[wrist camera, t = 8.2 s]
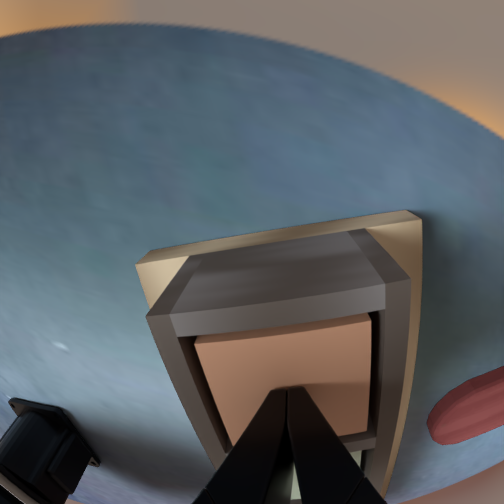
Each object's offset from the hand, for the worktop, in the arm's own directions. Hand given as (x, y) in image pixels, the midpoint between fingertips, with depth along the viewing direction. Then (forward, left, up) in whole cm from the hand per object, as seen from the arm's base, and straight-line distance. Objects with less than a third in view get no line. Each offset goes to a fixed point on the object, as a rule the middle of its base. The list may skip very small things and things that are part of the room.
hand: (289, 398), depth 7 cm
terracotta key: (0, 0, -3) cm, 3 cm away
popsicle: (+15, -10, -6) cm, 19 cm away
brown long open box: (0, -8, -5) cm, 9 cm away
